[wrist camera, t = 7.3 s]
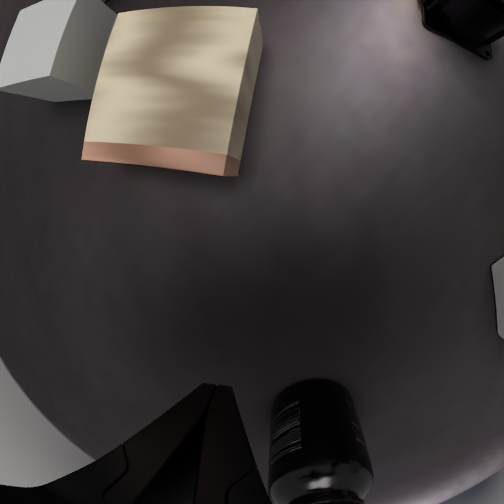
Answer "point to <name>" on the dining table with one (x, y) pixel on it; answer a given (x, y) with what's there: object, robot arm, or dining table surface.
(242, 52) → the birch block
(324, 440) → the supplement bottle
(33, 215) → the dining table surface
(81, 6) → the grey block
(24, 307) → the dining table surface
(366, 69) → the dining table surface
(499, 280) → the milk carton
